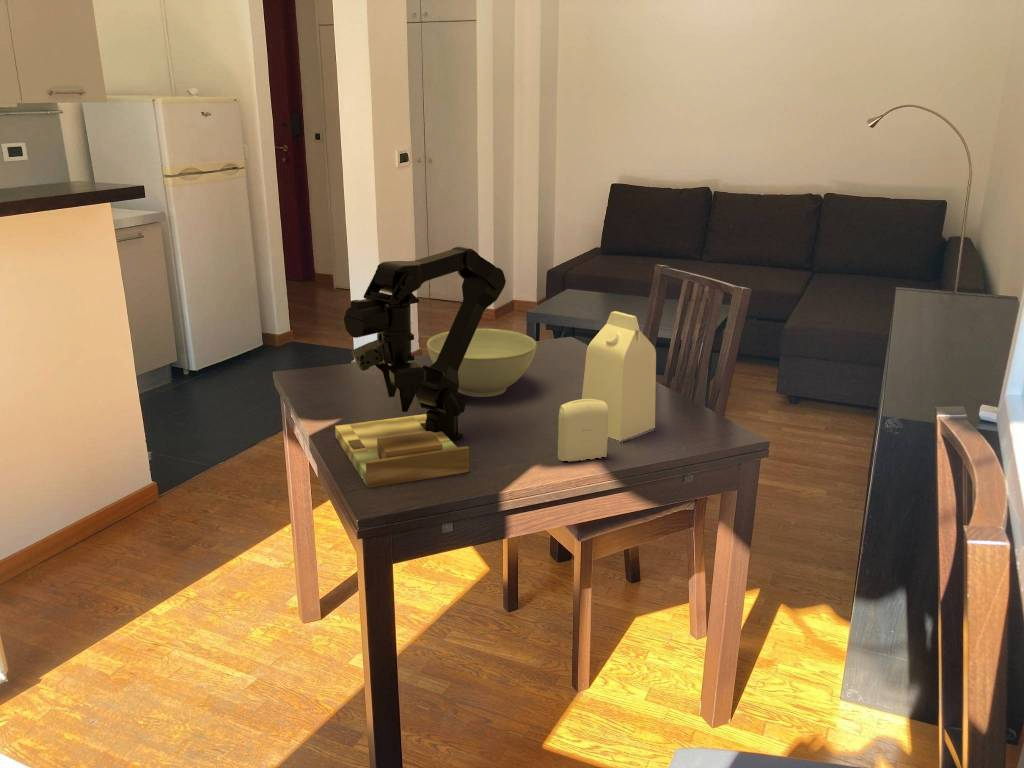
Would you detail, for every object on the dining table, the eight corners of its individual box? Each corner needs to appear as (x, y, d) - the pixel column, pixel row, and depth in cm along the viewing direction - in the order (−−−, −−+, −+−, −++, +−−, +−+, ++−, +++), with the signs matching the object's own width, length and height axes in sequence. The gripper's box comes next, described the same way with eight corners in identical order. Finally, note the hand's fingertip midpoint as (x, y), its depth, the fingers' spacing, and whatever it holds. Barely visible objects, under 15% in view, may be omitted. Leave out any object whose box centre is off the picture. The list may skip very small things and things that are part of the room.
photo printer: (560, 464, 171) (562, 405, 167) (554, 455, 175) (556, 398, 171) (609, 459, 173) (612, 401, 169) (602, 451, 177) (605, 394, 173)
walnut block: (377, 455, 167) (377, 438, 166) (432, 447, 171) (431, 431, 170) (386, 469, 161) (385, 451, 160) (442, 461, 165) (442, 444, 164)
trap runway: (335, 436, 182) (334, 414, 181) (425, 424, 190) (425, 403, 188) (367, 488, 159) (367, 463, 157) (469, 471, 167) (469, 447, 165)
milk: (654, 430, 189) (663, 315, 181) (619, 443, 182) (626, 324, 173) (614, 415, 197) (620, 305, 189) (578, 427, 190) (584, 312, 182)
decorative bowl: (535, 373, 226) (536, 329, 222) (535, 408, 201) (537, 359, 197) (433, 371, 227) (432, 327, 223) (421, 406, 201) (420, 356, 197)
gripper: (343, 320, 171) (346, 394, 176) (367, 344, 155) (370, 425, 160) (397, 315, 175) (399, 388, 180) (426, 338, 159) (427, 417, 164)
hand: (397, 404), depth 171 cm, fingers open, 9 cm apart
